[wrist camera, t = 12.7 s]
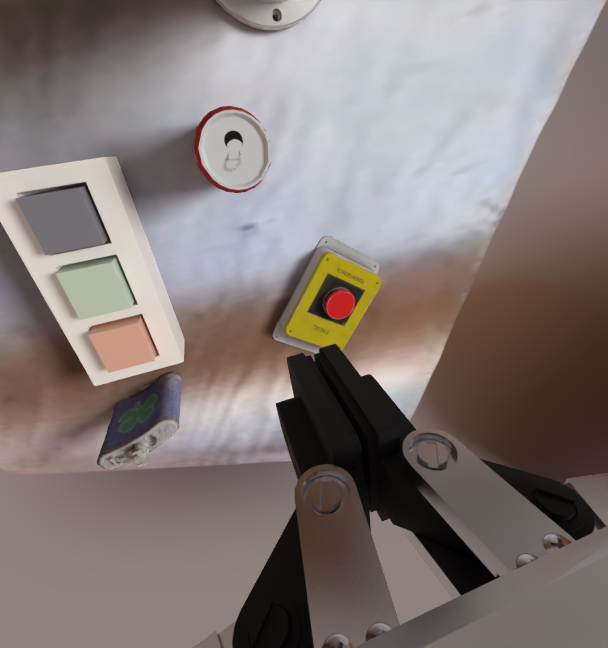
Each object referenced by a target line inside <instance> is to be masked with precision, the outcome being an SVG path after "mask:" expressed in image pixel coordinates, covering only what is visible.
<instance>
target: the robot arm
mask: <svg viewBox="0 0 608 648" xmlns="http://www.w3.org/2000/svg"><path fill="white" fill-rule="evenodd" d="M215 1H216V2H217V3H218V4H219V5H220V6H221V7H222V8H223V9H224V10H225V11H226V12H227V13H229V14H230V15H231V16H233V17H234V18H236V19H237V20H238V21H240V22H242V23H244V24H246V25H248V26H250V27H253V28H257V29H262V30H266V31H268V30H282V29H285V28H289V27H292V26H294V25H295V24H297V23H299V22H300V21H302V20H304V19H305V18H306V17H307V16H308V15H309V14H310V13H311V12H312V11H313V10H314V9H315V7H316V6H317V5H318V3H319V2H320V1H321V0H215ZM273 15H275V16H276V17H277V21H274V20H273V18H272V16H273ZM314 357H315V362H314V360H313V359H312V357H311V356H306V357H305V355H304V353H301V354H297V355H294V356H290V357H287V363H288V368H289V374H290V379H291V384H292V389H293V394H294V398H291V399H288V400H285V401H282V402H279V403H276V407H277V411H278V416H279V420H280V424H281V428H282V431H283V435H284V438H285V442H286V445H287V448H288V451H289V454H290V457H291V460H292V463H293V466H294V469H295V472H296V475H297V478H298V482H297V485H296V488H295V504H296V509H295V511H294V513H293V515H292V516H291V518H290V520H289V522H288V524H287V526H286V528H285V529H284V531H283V533H282V535H281V537H280V539H279V540H278V542H277V544H276V546H275V548H274V550H273V552H272V553H271V555H270V557H269V559H268V561H267V563H266V565H265V566H264V569H263V570H262V572H261V574H260V576H259V578H258V580H257V581H256V583H255V585H254V587H253V589H252V591H251V593H250V594H249V596H248V598H247V600H246V602H245V604H244V605H243V607H242V609H241V611H240V614H239V616H238V619H237V620H236V621H235V622H234V623H232V624H231V625H230V626H228V627H227V628H226V629H224V630H223V631H222V632H220V633H219V634H218V633H217V631H215V632H213V633H212V634H211V635H209V636H208V637H207V638H205V639H204V640H203V641H201V642H200V643H199V644H197V645H196V646H195V647H193V648H608V473H606V474H599V475H591V476H584V477H576V478H569V479H567V480H566V483H563V484H562V483H560V482H557V481H555V480H552V479H549V478H545V477H542V476H539V475H535V474H531V473H528V472H524V471H521V470H517V469H513V468H510V467H507V466H503V465H500V464H496V463H493V462H489V461H485V460H482V459H479V458H478V457H476V456H475V455H474V454H473V453H472V452H471V451H469V450H468V449H467V448H466V447H464V446H463V445H462V444H461V443H460V442H459V441H458V440H456V439H455V438H454V437H452V436H451V435H449V434H448V433H446V432H443V431H440V430H438V429H431V428H424V429H418V430H416V429H415V428H414V426H413V425H412V424H411V423H410V421H409V420H408V419H407V418H406V417H405V415H404V414H403V413H402V412H401V410H400V409H399V408H398V407H397V405H396V404H395V403H394V402H393V401H392V399H391V398H390V397H389V396H388V394H387V393H386V392H385V391H384V390H383V388H382V387H381V386H380V385H379V383H378V382H377V381H376V380H375V378H374V377H373V376H372V375H369V374H368V375H365V376H362V377H361V376H360V375H359V373H358V372H357V371H356V369H355V368H354V367H353V365H352V364H351V363H350V361H349V360H348V359H347V358H346V356H345V355H344V354H343V352H342V351H341V350H340V348H339V347H338V346H337V345H336V344H332V345H329V346H325V347H322V348H319V353H316V354H315V355H314ZM369 510H370V511H371V512H373V511H375V510H376V511H377V513H378V515H379V517H380V518H381V520H382V521H384V520H387V519H389V518H390V520H391V522H392V523H393V524H394V525H397V526H399V527H402V528H403V531H404V532H405V534H406V536H407V538H408V539H409V540H410V542H411V543H412V545H413V546H414V547H415V549H416V550H417V551H418V553H419V554H420V555H421V557H422V558H423V559H424V561H425V562H426V563H427V565H428V566H429V568H430V569H431V570H432V571H433V573H434V574H435V575H436V577H437V578H438V580H439V581H440V582H441V584H442V585H443V586H444V588H445V589H446V590H447V592H448V593H449V594H450V596H451V597H452V599H453V600H451V601H449V602H447V603H445V604H443V605H441V606H439V607H436V608H434V609H432V610H430V611H428V612H426V613H424V614H422V615H420V616H418V617H416V618H414V619H412V620H410V621H408V622H405V623H404V624H401V625H400V624H399V621H398V618H397V614H396V611H395V608H394V605H393V602H392V599H391V595H390V592H389V589H388V586H387V583H386V579H385V576H384V573H383V570H382V567H381V564H380V560H379V557H378V554H377V551H376V548H375V545H374V542H373V538H372V535H371V529H370V516H369V515H370V514H369Z"/></svg>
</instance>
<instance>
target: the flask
mask: <svg viewBox="0 0 608 648" xmlns="http://www.w3.org/2000/svg"><path fill="white" fill-rule="evenodd" d="M181 384H182V379H181V377H180V375H179V374H177V373H176V372H170V373H166V374H164V375H161V376H160V378H159V379H158V380H156V381H154V382H152V383H149V384H147V385H145V386H144V387H143V388H142V389H141V390H140V392H137V393H136V392H134V394H133V395H132V396H130V397H126V398H125V399H123V400H121V401H119V402H117V403H116V405H115V409H114V413H113V417H112V419H111V422H110V424H109V426H108V430H107V434H106V437H105V440H104V443H103V445H102V448H101V451H100V454H99V457H98V460H97V464H98V465H99V466H101V467H102V468H105V469H115V468H117V467H120V466H122V465H124V464H126V463H129V462H132V461H134V463H138V462H140V461H143V460H144V459H145V456H146V454H148V453H149V452H150V451H152V450H153V449H155V448H156V447H157V446H159V445H161V444H162V443H163V442H164V441H165V440H167V439H168V438H169V437H171V436H172V435H173V434H174V433H175V432H176V431H177V430H178V428H179V413H180V394H181ZM148 461H150V458H149V459H148ZM146 464H147V462H142V463H141V464H137V466H138V467H141V466H144V465H146Z"/></svg>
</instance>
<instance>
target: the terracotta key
mask: <svg viewBox="0 0 608 648" xmlns="http://www.w3.org/2000/svg"><path fill="white" fill-rule="evenodd" d="M88 336H89V338H90V340H91V341H92V343H93V345H94V347H95V349H96V351H97V353H98V354H99V356H100V358H101V360H102V362H103V364H104V366H105V368H106V369H107V371H108V373H111V372H114V371H118V370H122V369H125V368H129V367H133V366H137V365H140V364H144V363H148V362H152V361H155V356H156V350H157V348H156V346H155V343H154V341H153V339H152V336H151V334H150V331H149V329H148V327H147V324H146V322H145V320H144V317H143V315H142V314H139V315H135V316H131V317H127V318H122V319H118V320H114V321H110V322H106V323H102V324H98V325H94V326H93V328H92V329H91V331H90V333H89V335H88Z"/></svg>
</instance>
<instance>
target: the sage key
mask: <svg viewBox="0 0 608 648" xmlns="http://www.w3.org/2000/svg"><path fill="white" fill-rule="evenodd" d="M56 276H57V278H58V280H59V281H60V283H61V285H62V287H63V289H64V291H65V293H66V295H67V296H68V298H69V300H70V302H71V304H72V306H73V308H74V310H75V311H76V313H77V315H78V317H79V319H80V320H82V319H87V318H91V317H95V316H99V315H104V314H108V313H112V312H116V311H120V310H125V309H129V308H132V305H133V303H134V300H135V296H134V294H133V291H132V289H131V287H130V284H129V282H128V280H127V277H126V275H125V273H124V270H123V268H122V266H121V263H120V261H119V259H118V256H117V254H116V255H111V256H106V257H101V258H96V259H91V260H87V261H82V262H77V263H72V264H67V265H65V266H64V267H63V268H62V269H61V270H60V271H58V272H57V273H56Z"/></svg>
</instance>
